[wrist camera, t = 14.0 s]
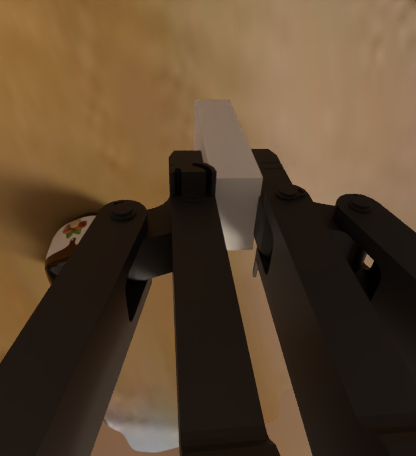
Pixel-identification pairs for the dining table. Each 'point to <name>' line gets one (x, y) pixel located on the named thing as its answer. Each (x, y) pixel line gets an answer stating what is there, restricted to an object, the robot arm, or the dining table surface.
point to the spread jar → (65, 244)
